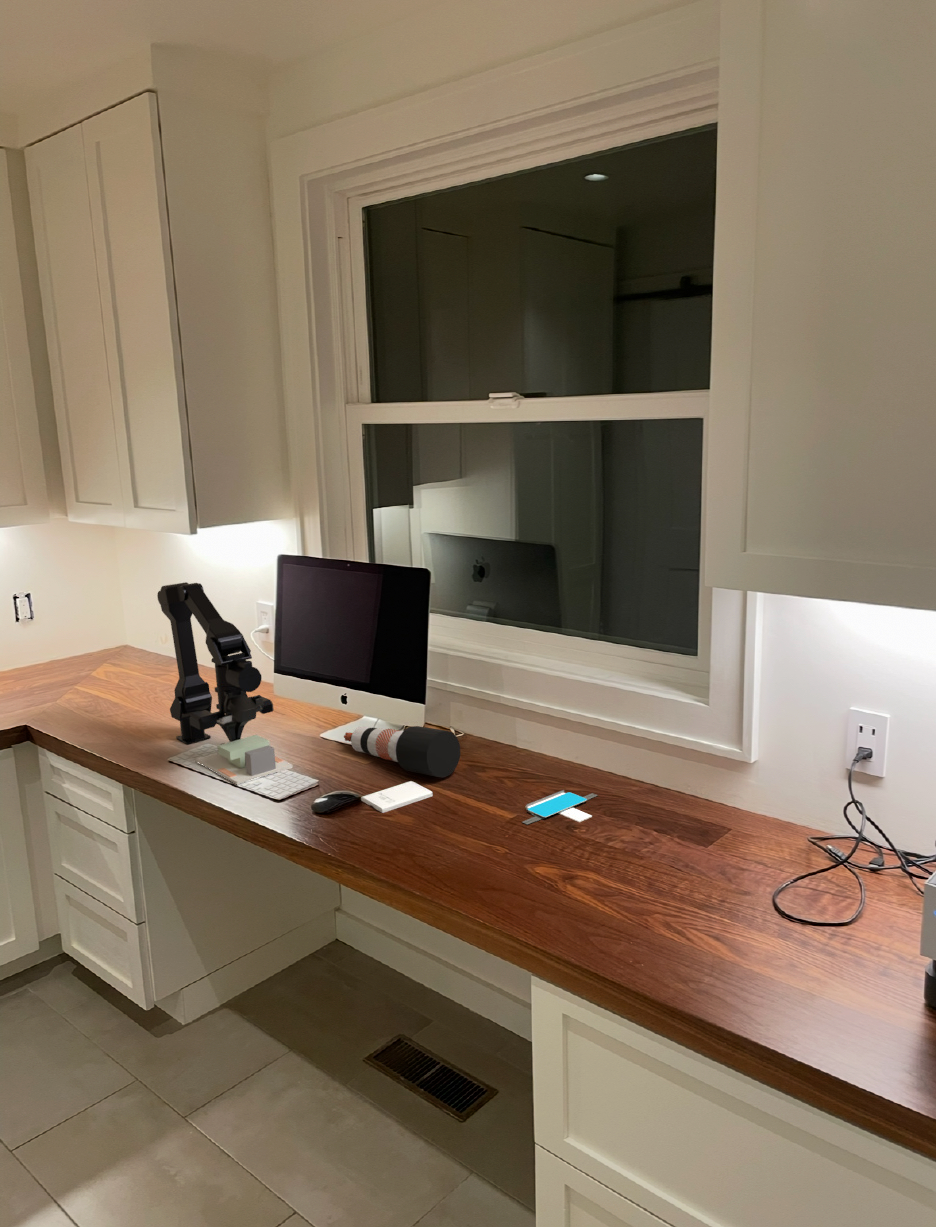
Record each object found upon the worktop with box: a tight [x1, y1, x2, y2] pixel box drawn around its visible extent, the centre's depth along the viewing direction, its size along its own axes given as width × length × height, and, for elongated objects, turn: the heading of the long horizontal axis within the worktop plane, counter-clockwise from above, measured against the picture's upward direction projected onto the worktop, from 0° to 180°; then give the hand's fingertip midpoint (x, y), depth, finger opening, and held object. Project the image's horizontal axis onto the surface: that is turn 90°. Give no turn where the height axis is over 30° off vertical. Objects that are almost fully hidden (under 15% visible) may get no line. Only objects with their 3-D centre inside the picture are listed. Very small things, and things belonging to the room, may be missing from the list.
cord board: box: [195, 742, 293, 785], centre depth 214 cm, size 20×14×6 cm
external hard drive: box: [360, 780, 434, 814], centre depth 193 cm, size 2×8×12 cm
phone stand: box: [522, 789, 598, 825], centre depth 184 cm, size 20×12×2 cm, turn 130°
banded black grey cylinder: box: [343, 725, 461, 778], centre depth 213 cm, size 10×34×10 cm, turn 43°
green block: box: [217, 734, 271, 768], centre depth 213 cm, size 6×10×4 cm, turn 132°
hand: (235, 747), depth 216 cm, fingers closed, pressing on green block
